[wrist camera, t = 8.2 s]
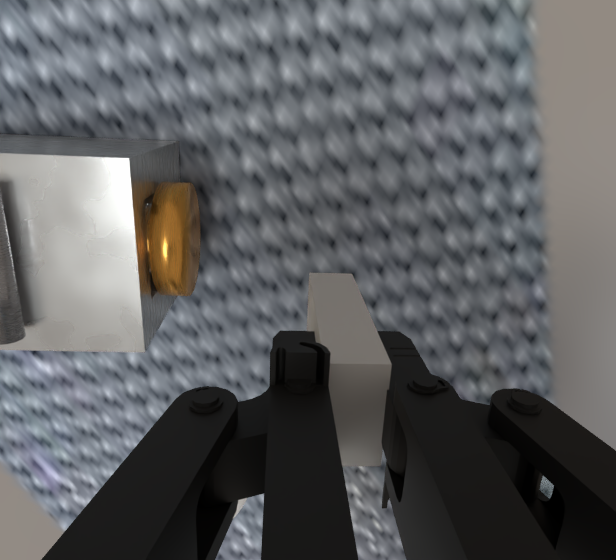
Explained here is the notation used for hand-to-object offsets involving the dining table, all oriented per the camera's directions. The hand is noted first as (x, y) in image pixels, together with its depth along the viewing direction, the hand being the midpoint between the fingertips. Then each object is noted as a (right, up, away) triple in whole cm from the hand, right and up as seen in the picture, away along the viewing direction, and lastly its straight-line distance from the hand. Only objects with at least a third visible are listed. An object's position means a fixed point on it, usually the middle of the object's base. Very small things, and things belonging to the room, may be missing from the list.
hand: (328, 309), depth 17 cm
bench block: (-14, +5, +10) cm, 17 cm away
